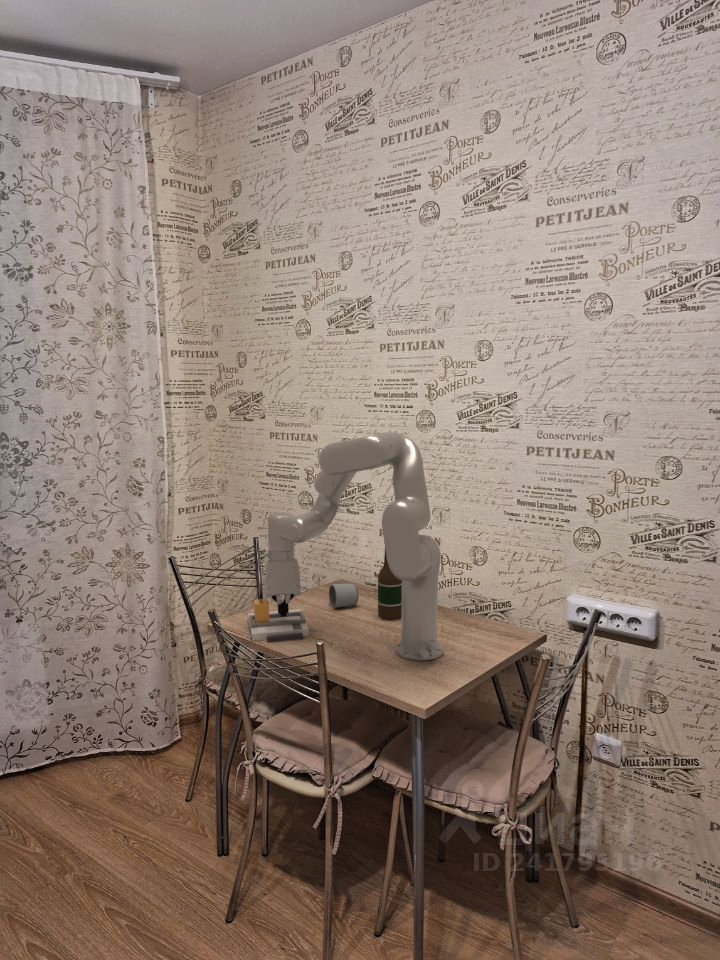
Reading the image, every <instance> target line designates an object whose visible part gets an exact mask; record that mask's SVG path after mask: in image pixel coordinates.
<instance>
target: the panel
mask: <svg viewBox="0 0 720 960" xmlns="http://www.w3.org/2000/svg"><path fill="white" fill-rule="evenodd" d="M247 620H248V621H247V622H248V625H249V631H250V637H251V641H252V642H257V641H267V636H272V635H283V634H294V633H302V634H303V637H308V636H310V633H309V631H310V630H309V627H308V624H307V622H306V621H307V620H306V618H305V616H304V613H303V611H302V610H301V609H298V608H297V609H289V613H287V617H281V615H280V614H278V610H274V611H269V622H261V623H255V620H254V612H250V613H249V612H248V613H247Z"/></svg>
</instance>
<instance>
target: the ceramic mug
mask: <svg viewBox="0 0 720 960" xmlns="http://www.w3.org/2000/svg"><path fill="white" fill-rule="evenodd" d="M359 598H360V597H359V590H358V587H357V586H356V584H354V583H332V584H330V586H329V587H328V600H329V601H328V602H329V604H330V606H331V608H332V609H341V608H346V607H347V606H348V607H352V606H356V605H357V604H358V602H359Z"/></svg>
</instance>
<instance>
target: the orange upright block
mask: <svg viewBox="0 0 720 960" xmlns="http://www.w3.org/2000/svg"><path fill="white" fill-rule="evenodd" d="M268 599H269V598H258V599H254V600H253V613H254V620H255V623H261V622H269V612H270V605H269V601H268Z"/></svg>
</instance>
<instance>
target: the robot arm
mask: <svg viewBox="0 0 720 960" xmlns="http://www.w3.org/2000/svg"><path fill="white" fill-rule="evenodd" d="M318 460H319V461H318V462H319V466H320V467H321V470H320V471H319V473H318V475H317V476H316V478H315V480H314V482H313V487H314V489H315V491H316V492H317V493H318V496H317V499H316V500H315V503H314V504H313V505H312V507H311V509H310V510H309V511H308V512H305V513H303V514H299V515H295V516H294V515H293V514H292V513H289V512H274V513H270V514H269V515H268V518H267V541H268V543H267V544H268V549H267V551H266V552H263V558H267V560H266V563H265V569H264V571H265V573H264V588H265V591H264V599H269V600H270V599H272V600H274V601H275V602H276V603H277V611H278V614H280V615H281V617H287V613H289V610H290V609H289V604H290V602H291V601H292V599H293V598H295V597H298V596H300V595H302V591H301V587H302V585H301V573H300V565H299V560H298V559H297V557H296V556H295V551H296V550H295V543H296V544H300V543H304V542H307V541H310V540H312V539H315V538H318V537H319V536H321V535H322V534H324V532H326V531H327V529H328V528H329V526H330V525H331V523H332V522H333V520H334V519H335V517H336V515H337V513H338V511H339V507H340V504H341V498H342V495H344V493H345V492H346V489H347V487H348V486H349V485H350V483H351V481H352V480H353V479H354V478H355V476H356V473H358V472H362V471H368V470H369V471H370V470H374V469H378V468H382V467H386V466H390V465H391V466H392V469H393V471H392V486H393V492H394V493H393V495H394V500H393V501H392V502H391V503H389V504H388V505H387V506H386V507H385V509H384V511H383V513H382V517H381V527H382V536H383V544H384V543H385V544H384V551H385V550H386V556H387V562H388V565H389V568H390V570H391V572H392V573H393V575H394V576H395V577H397V578H398V579H400V580H402V617H401V642H399V643H397V644H396V646H395V653H396V654H397V656H399V657H401V658H403V659H407V660H410V661H411V660H412V661H419V662H420V661H422V662H423V661H430V660H435V659H438V658H439V657H441V656H442V655H443V653H444V647H443V646H442V645H441V644H440V643H438V596H439V595H438V591H439V590H438V589H439V587H438V586H439V574H440V567H441V556H442V555H441V550H440V546H439V544H438V542H437V541H436V540H435V539H434V538H433V537H431V536H429V535H425V534H420V533H419V532H420V531H421V530H424V529H425V528H426V527H427V526H428V525H429V523H430V521H431V508H430V502H429V496H428V487H427V483H426V479H425V470H424V463H423V457H422V454H421V451H420V448H419V446H418V445H417V443H415V442H414V440H413V439H411V438H410V437H409V436H407V435H404V434H402V433H398V432H391V431H390V432H381V433H377V434H376V433H374V434H371V435H370V434H369V435H365V436H361V437H357V438H352V439H349V440H342V441H337V442H331V443H329V444H327V445H325V446H324V448H322V450H321V452H320V453H319V459H318ZM281 596H284V599H283V600H282V597H281Z"/></svg>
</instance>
